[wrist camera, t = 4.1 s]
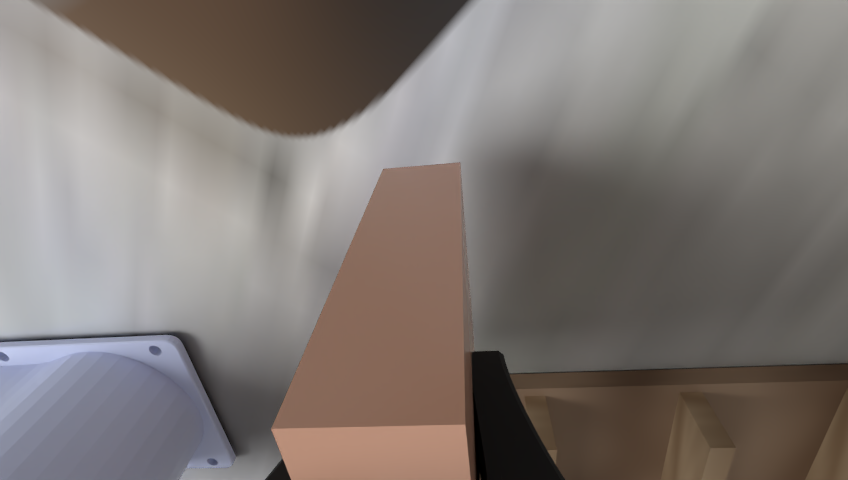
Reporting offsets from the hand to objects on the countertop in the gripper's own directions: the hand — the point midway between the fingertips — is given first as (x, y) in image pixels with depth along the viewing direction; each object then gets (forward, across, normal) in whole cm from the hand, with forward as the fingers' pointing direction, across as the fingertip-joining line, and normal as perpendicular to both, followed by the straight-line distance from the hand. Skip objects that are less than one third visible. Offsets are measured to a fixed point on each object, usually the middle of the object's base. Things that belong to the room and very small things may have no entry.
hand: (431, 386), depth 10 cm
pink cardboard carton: (+4, 0, 0) cm, 4 cm away
